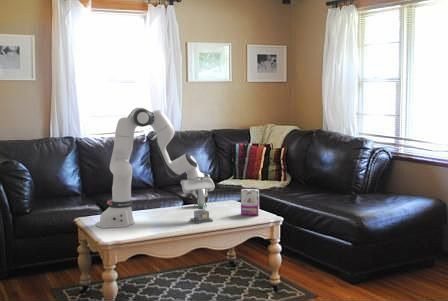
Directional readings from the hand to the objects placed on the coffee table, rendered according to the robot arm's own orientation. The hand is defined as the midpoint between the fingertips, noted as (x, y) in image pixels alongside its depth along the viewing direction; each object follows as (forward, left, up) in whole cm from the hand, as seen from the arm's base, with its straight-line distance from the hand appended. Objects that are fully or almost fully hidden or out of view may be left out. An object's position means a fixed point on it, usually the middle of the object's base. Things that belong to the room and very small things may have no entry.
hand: (201, 196), depth 335 cm
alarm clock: (+15, +39, -15) cm, 44 cm away
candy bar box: (+34, +2, -15) cm, 37 cm away
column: (0, +1, -7) cm, 7 cm away
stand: (0, +1, -15) cm, 15 cm away
